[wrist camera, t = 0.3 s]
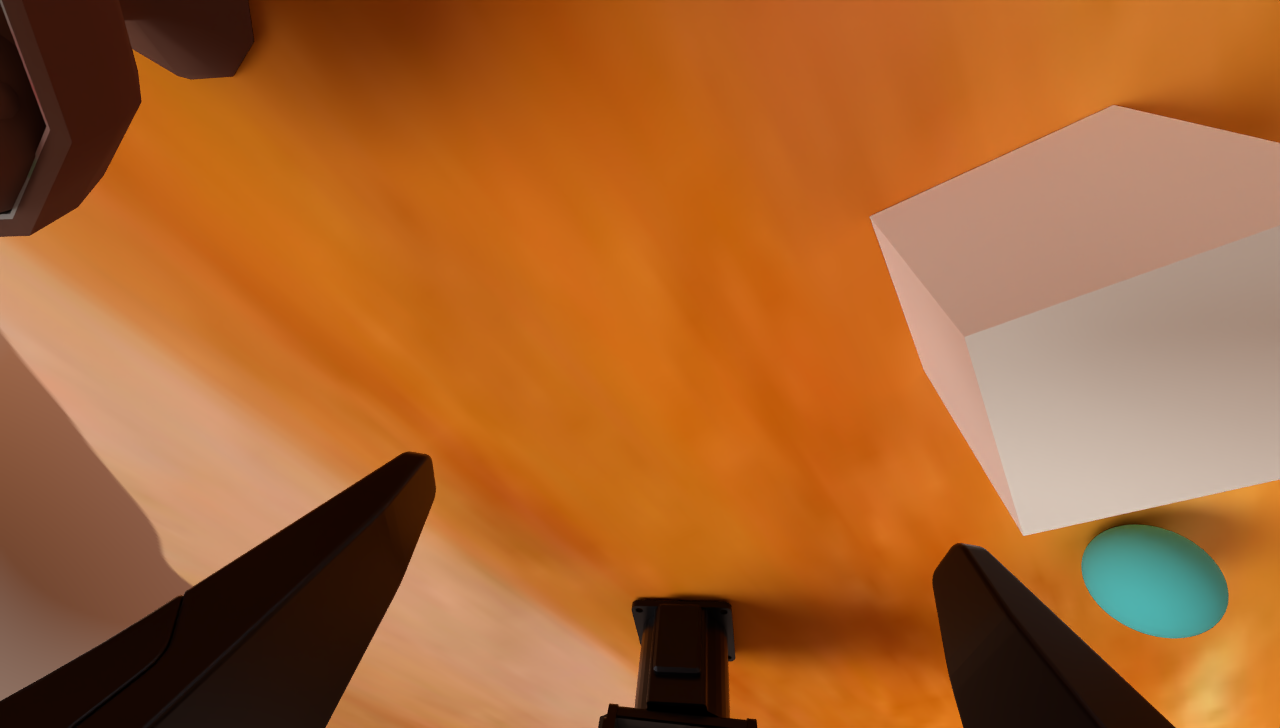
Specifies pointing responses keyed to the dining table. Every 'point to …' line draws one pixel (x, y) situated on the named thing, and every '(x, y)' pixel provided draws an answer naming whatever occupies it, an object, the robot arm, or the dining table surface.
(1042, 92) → the dining table surface
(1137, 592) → the ball
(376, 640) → the dining table surface
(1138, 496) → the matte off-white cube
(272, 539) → the robot arm
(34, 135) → the ice cream bowl
